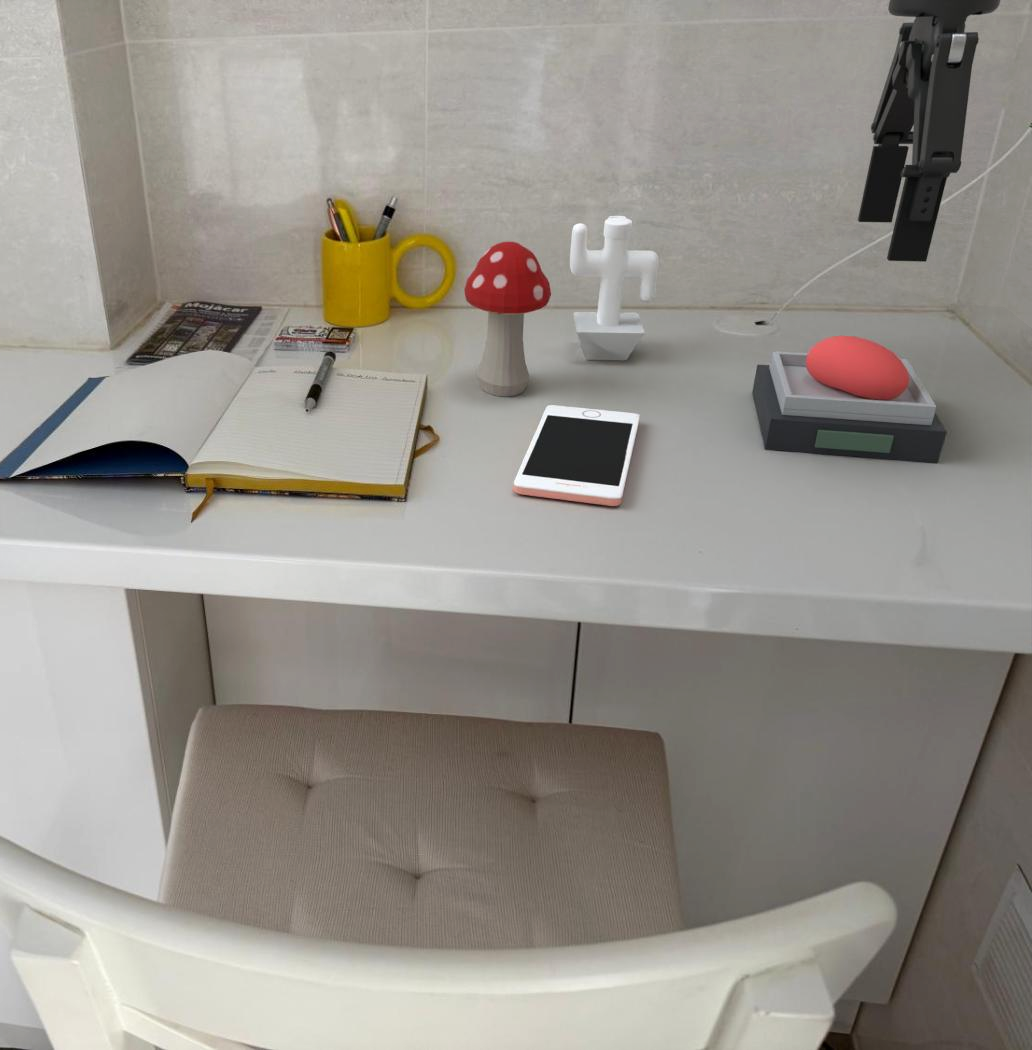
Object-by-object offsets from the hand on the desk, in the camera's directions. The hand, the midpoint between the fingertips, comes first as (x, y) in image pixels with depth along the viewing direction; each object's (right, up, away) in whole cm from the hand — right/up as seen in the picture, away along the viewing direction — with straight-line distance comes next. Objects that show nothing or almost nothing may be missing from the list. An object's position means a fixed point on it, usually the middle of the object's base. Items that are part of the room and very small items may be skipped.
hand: (889, 239), depth 85 cm
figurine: (-17, -5, +27) cm, 32 cm away
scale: (0, -15, +8) cm, 17 cm away
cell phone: (-26, -19, +4) cm, 32 cm away
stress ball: (0, -12, +6) cm, 14 cm away
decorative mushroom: (-30, -10, +19) cm, 37 cm away
